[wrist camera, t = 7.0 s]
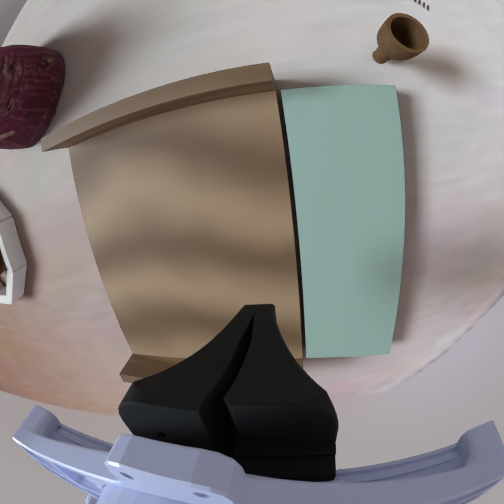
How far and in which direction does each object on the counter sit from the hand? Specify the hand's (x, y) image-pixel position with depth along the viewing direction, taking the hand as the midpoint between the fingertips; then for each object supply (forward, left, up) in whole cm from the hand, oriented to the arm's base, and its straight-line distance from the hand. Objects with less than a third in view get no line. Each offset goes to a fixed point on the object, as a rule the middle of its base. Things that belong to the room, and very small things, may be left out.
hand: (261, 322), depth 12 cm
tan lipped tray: (+1, +6, -8) cm, 10 cm away
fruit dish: (+4, +34, -8) cm, 36 cm away
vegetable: (+18, +20, -8) cm, 28 cm away
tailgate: (+1, -2, -7) cm, 7 cm away
